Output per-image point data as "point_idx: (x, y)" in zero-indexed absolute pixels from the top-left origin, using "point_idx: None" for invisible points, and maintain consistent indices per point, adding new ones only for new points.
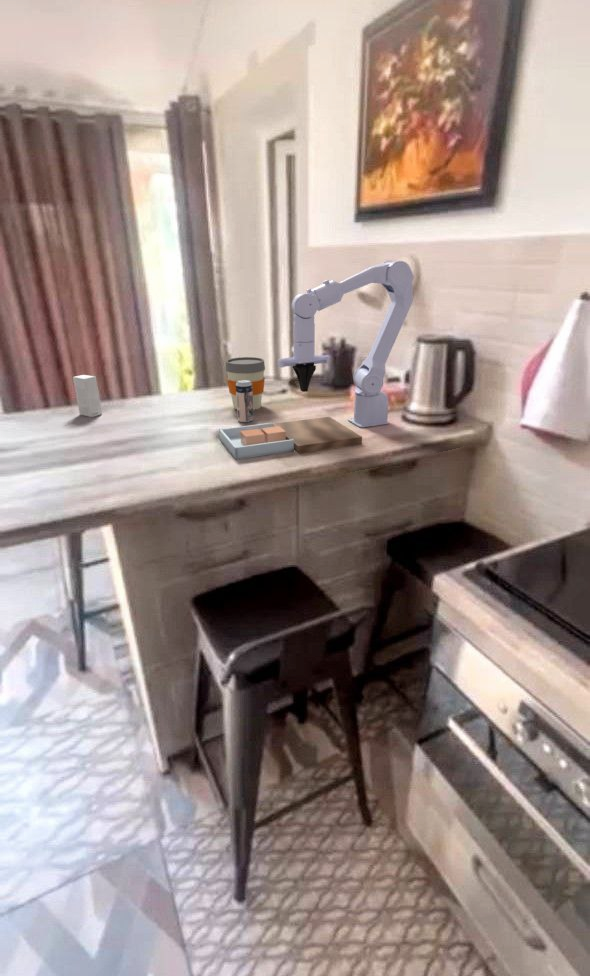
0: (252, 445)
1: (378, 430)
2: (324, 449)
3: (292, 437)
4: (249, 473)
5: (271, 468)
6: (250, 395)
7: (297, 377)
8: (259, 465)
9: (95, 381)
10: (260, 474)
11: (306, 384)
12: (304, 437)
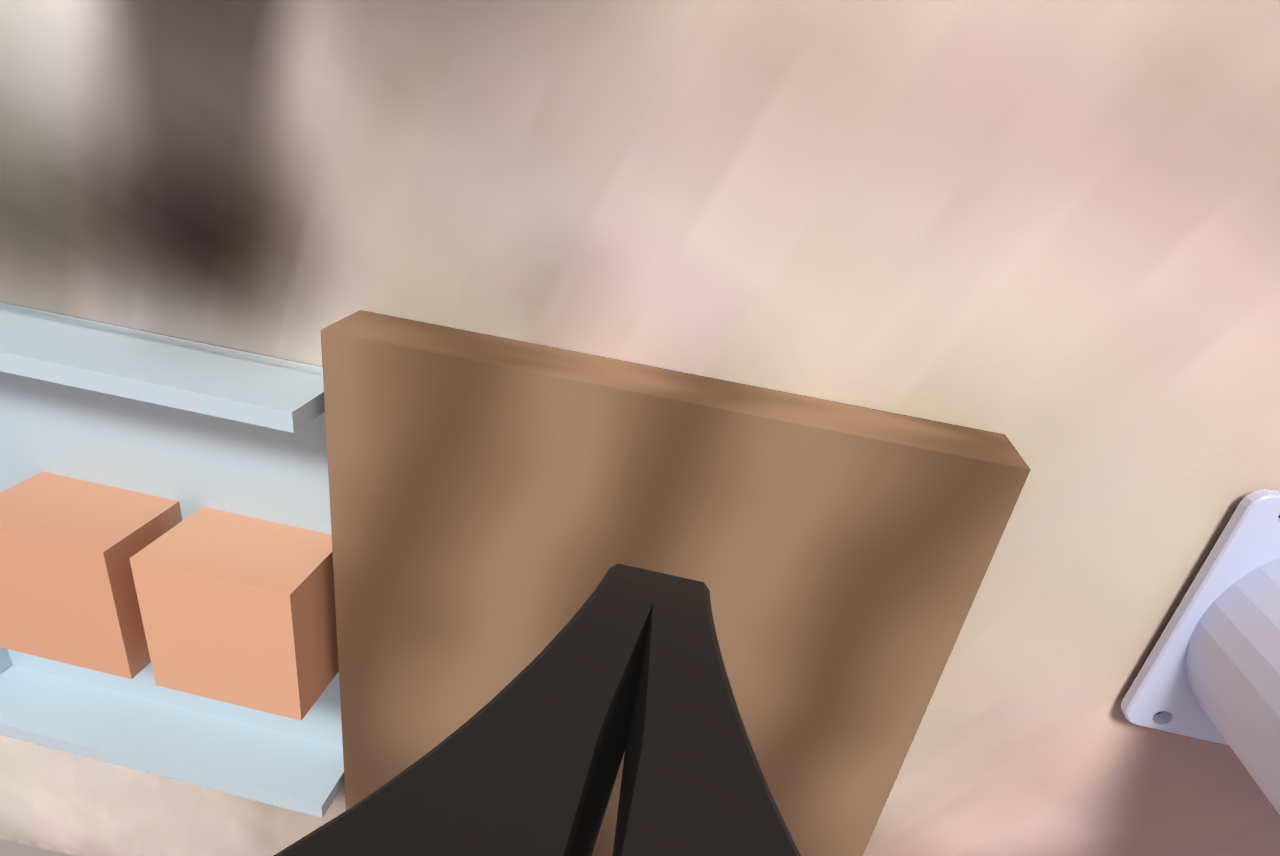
0: (46, 745)
1: (1187, 813)
2: None
3: (373, 710)
4: (75, 817)
5: (183, 834)
6: None
7: (456, 740)
8: (133, 780)
9: None
10: (122, 849)
11: (615, 835)
12: None
